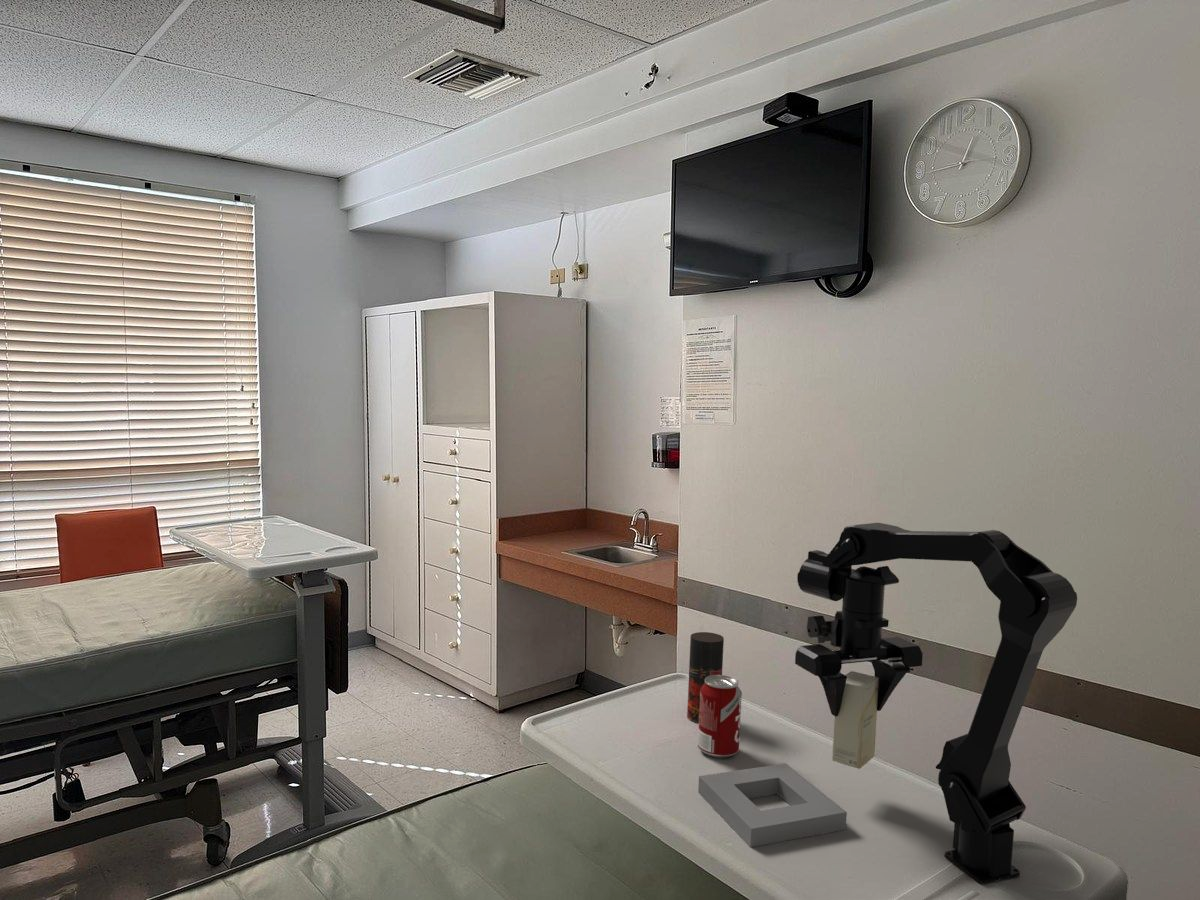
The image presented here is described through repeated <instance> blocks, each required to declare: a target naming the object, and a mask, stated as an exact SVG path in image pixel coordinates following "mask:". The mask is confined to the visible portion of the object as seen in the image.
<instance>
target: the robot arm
mask: <svg viewBox="0 0 1200 900" xmlns="http://www.w3.org/2000/svg"><path fill="white" fill-rule="evenodd" d="M807 552H808V553H807V559H806V560H804V562H803V563H802V564H801V566H800V568H799V571H798V572H797V574H796V575H797V580H796V581H797V585H798V587H799V590H801V591H802V592H803V593H805V594H808V595H809V594H810V595H812V596H816V597H819V598H823V599H824V600H825V599H826V600H829V601H834V602H839V601H841V600H842V606H841V610H838V611H836V613H835V614H834V620H826V619H825V617H824V615H813V616H811V615H810V616H808V617H807V623H806V630H807V636H808V637H809V638H810V639H812V638H817V644H807V645H800V646H799V647H798V648H796V651H795V658H794V659H795V660H794V664H795V665H797V666H798V667H800V668H801V669H804V670H805V671H807V672H808V673H810V674H812V675H813V676H816V677H818V678H819V680H820V683H821V685H822V687H823V691H824V694H825V697H826V701H827V703H828V707H829V710H830V714H831V715H832V716H833V717H835V716H838V714H839V711H840V708H841V703H842V698H843V694H844V689H845V684H846V679H847V676H845V675H846V674H844V673H841V671H842V665H844V664H845V665H846V664H855V663H866V662H871V666H872V669H873V670H874V676H875V677H878V678H879V680H878V700H877V712H880V711H881V710H883V708H884V706H885V705H886V703H887V701H888V700H889V698H890V697H891V695H892V693H893V692H894V690H895V689H896V687H897V686H898V684H899V683H900V682H901V681H902V679H903V678H904V677H905V676H906V674H907V673H911V671H912V669H911V668H913V667H922V666H923V661H924V660H923V659H924V653H923V651H922V649H921V647H920V645H919V644H918V645H917V644H915V643H913V642H911V641H908V640H907V639H904V638H902V637H900V636H895V637H885V638H882V636H883V635H882V633H883V628H888V627H889V623H890V622H889V619H887V618H884V603H885V602H884V601H885V590H886V588H885V586H888V585H889V586H890V585H895V584H898V583H900V580H899V577H897V575H896V574H895V573H894V572H893V571H891V569H890V567H889V566H888V565H884V566H878V567H877V568H873V567H868V566H863V565H868V564H874V563H881V562H882V563H883V562H887V561H893V560H901V559H902V560H904V559H905V560H930V561H948V562H949V561H951V562H970V563H973V565H975V567H977V569H978V570H979V573H980V575H981V577H982V579H983V581H984V582H985V584H986V587H987V588H988V589H989V591H990V592H991V593H992V594H993V595H994V597H996V598H997V599H998V601H999V608H998V615H997V617H998V623H999V627H1000V628H999V629H1000V633H1001V638H1000V643H999V644H998V647H997V649H996V650H997V651H996V653H995V656H994V659H993V661H992V664H991V667H990V670H989V673H988V676H987V678H986V681H985V685H984V687H983V690H982V693H981V696H980V698H979V702H978V704H977V707H976V710H975V713H974V714H973V718H972V721H971V724H970V727H969V729H968V732H967V733H966V734H963V735H961V736H958V737H954V738H951V739H950V740H947V741H945V743H944V746H943V749H942V755H941V759H940V761H939V762H938V764H936V765H935V769H936V770H939V772H938V775H937V782H938V785H939V787H940V788H941V791H942V793H943V798H944V801H945V806H946V811H947V814H948V819H949V821H950V822H952V823H954V827H953V838H952V840H953V841H952V849H953V850H948V851H944V857H945V858H946V859H947V860H949V861H950V862H951V863H953V864H954V866H955V865H956V867H958V868H959V869H960V870H961V871H963V872H964V873H966V874H967V875H969V876H970V877H971V878H973V880H975V881H976V882H978V883H979V884H983V885H985V884H990V883H993V882H998V881H1003V880H1006V879H1007V880H1008V879H1011V878H1016V877H1020V875H1021V871H1020V870H1019V868H1017V867H1015V866H1014V865H1013V864H1012V861H1013V860H1012V859H1013V848H1014V847H1013V846H1014V833H1015V830H1014V829H1013V828H1012V827H1011V824H1010V823H1012V822H1014V821H1018V820H1021V818H1022V817H1023V815H1024V813H1025V811H1026V810H1027V806H1026V804H1025V803H1024V802H1023V800H1022V798H1021V797H1020V795H1019V794H1018V792H1017V791H1016V789H1015V788H1014V786H1013V785H1012V783H1011V782H1010V780H1009V779H1010V774H1011V767H1012V762H1011V758H1010V757H1011V756H1010V753H1009V743H1010V741H1011V738H1012V735H1013V733H1014V729H1015V727H1016V725H1017V722H1018V720H1019V717H1020V714H1021V711H1022V709H1023V706H1024V703H1025V700H1026V697H1027V695H1028V692H1029V690H1030V688H1031V687H1030V686H1031V684H1032V681H1033V679H1034V677H1035V674H1036V670H1037V669H1038V665H1039V662H1040V660H1041V657H1042V654H1043V652H1044V649H1045V648H1046V647H1047V646H1048V645H1049V643H1051V641H1052V640H1054V638H1055V637H1056V636H1057V635H1058V634H1059V633H1060V632H1061V630H1062V629H1063V628H1064V627H1065V625H1066V623H1068V620H1069V619H1070V618H1071V616H1072V614H1073V613H1074V611H1075V609H1076V606H1077V603H1078V602H1077V601H1078V594H1077V592H1076V591H1075V589H1074V587H1073V585H1072V583H1071V582H1070V581H1069V580H1068V579H1067V578H1066V577H1065V576H1062V575H1061V574H1059V573H1056V572H1054V571H1053V570H1052V569H1050V568H1049V566H1047V565H1046V564H1045V562H1043V561H1042V560H1041V559H1038V558H1037V557H1036V556H1034V555H1032V554H1031V553H1029V552H1028V551H1026V550H1024V549H1023V548H1021V547H1020V546H1019V545H1017V544H1016V543H1015V542H1014V540H1012V539H1011V538H1010V537H1009V536H1008V535H1007V534H1005V533H1004V532H1003V531H1000V530H997V529H991V530H990V529H989V530H984V531H945V530H944V531H943V530H941V531H940V530H936V531H935V530H934V531H933V530H932V531H930V530H928V531H927V530H925V531H924V530H923V531H922V530H910V529H909V530H908V529H905V528H902V527H899V526H897V525H892V524H888V523H882V522H871V523H862V524H851V525H848V526H847V525H846V526H845V527H843V530H842V531H841V533H840V535H839V539H838V541H837V542H836V544H835V545H834V547H833V548H832V549H831V551H830V552H829V553H826V552H825V551H822V550H817V549H816V550H809V551H807ZM859 565H862V566H859ZM853 566H859V567H857V568H856V569H855V568H852V567H853ZM825 642H829V643H830V644H829V645H831V646H833V647H835V648H839V650H832V649H830V648H829V647H826V646H824V645H823V643H825Z"/></svg>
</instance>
